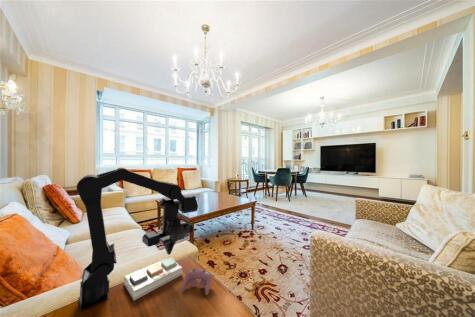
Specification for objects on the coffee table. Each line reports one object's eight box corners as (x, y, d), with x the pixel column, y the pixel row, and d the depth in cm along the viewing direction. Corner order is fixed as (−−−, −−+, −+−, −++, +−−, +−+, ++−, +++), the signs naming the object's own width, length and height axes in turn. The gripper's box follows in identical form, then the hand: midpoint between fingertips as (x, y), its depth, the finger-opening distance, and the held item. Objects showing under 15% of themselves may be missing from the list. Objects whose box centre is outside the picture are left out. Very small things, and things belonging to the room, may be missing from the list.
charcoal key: (134, 287, 57) (134, 281, 57) (129, 281, 60) (130, 275, 60) (147, 281, 60) (147, 275, 60) (142, 275, 63) (142, 269, 63)
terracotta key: (151, 279, 61) (151, 273, 61) (146, 273, 64) (146, 268, 64) (162, 273, 64) (162, 268, 64) (157, 268, 67) (157, 263, 67)
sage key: (166, 272, 65) (166, 266, 65) (161, 267, 68) (161, 261, 68) (176, 267, 69) (176, 261, 69) (170, 262, 71) (171, 257, 71)
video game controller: (210, 292, 61) (213, 269, 64) (208, 296, 57) (211, 271, 60) (184, 289, 62) (188, 266, 65) (179, 292, 58) (184, 268, 61)
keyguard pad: (133, 300, 54) (134, 290, 54) (123, 284, 61) (124, 275, 61) (181, 274, 67) (182, 266, 67) (169, 263, 74) (169, 256, 74)
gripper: (156, 227, 56) (153, 275, 56) (202, 215, 70) (200, 253, 70) (142, 218, 63) (140, 260, 63) (187, 208, 77) (185, 243, 77)
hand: (168, 254), depth 68 cm, fingers closed
